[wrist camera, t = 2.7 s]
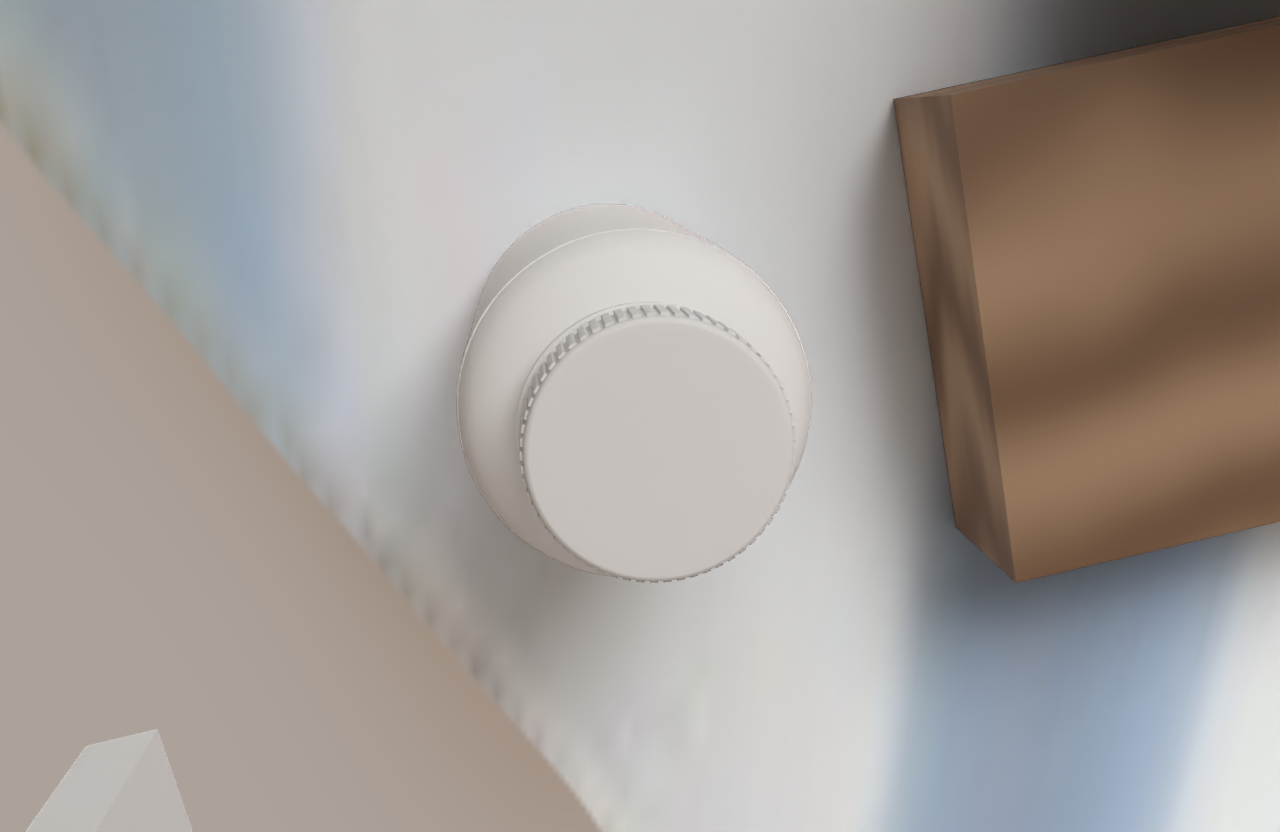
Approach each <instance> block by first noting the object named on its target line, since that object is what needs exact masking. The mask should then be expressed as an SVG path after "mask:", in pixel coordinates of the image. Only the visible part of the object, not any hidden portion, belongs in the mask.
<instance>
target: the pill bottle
mask: <svg viewBox="0 0 1280 832" xmlns="http://www.w3.org/2000/svg"><path fill="white" fill-rule="evenodd" d="M811 401H812V398H811V381H810V373H809V367H808V362H807V358H806V354H805V351H804V348H803V345H802V342H801V339H800V336H799V334H798V332H797V329H796V327H795V325H794V323H793V321H792V319H791V317H790V316H789V314H788V312H787V311H786V309H785V307H784V306H783V304H782V303H781V301H780V300H779V299H778V297H777V296H776V295H775V293H774V292H773V291H772V290H771V289H770V287H769V286H768V285H767V284H766V283H765V282H764V281H763V280H762V279H761V278H760V277H759V276H758V275H757V274H756V273H755V272H754V271H753V270H752V269H751V268H749V267H748V266H747V265H746V264H744V263H743V262H742V261H741V260H739V259H738V258H736V257H735V256H733V255H732V254H730V253H729V252H727V251H726V250H724V249H722V248H720V247H719V246H717V245H715V244H713V243H711V242H710V241H708V240H706V239H704V238H702V237H701V236H699V235H697V234H695V233H693V232H692V231H690V230H688V229H686V228H684V227H683V226H681V225H679V224H677V223H675V222H673V221H672V220H670V219H668V218H666V217H664V216H662V215H659V214H657V213H654V212H652V211H649V210H646V209H642V208H638V207H633V206H628V205H619V204H596V205H588V206H582V207H577V208H573V209H570V210H567V211H564V212H561V213H558V214H556V215H554V216H551V217H549V218H547V219H545V220H544V221H542V222H540V223H538V224H537V225H535V226H534V227H532V228H531V229H529V230H528V231H527V232H525V233H524V234H523V235H522V236H521V237H519V238H518V239H517V240H516V241H515V242H514V243H513V244H512V245H511V246H510V247H509V248H508V250H507V251H506V252H505V253H504V254H503V256H502V257H501V258H500V260H499V261H498V263H497V264H496V266H495V267H494V269H493V271H492V272H491V274H490V276H489V278H488V280H487V282H486V285H485V287H484V290H483V292H482V295H481V298H480V302H479V305H478V308H477V311H476V315H475V318H474V321H473V325H472V328H471V331H470V334H469V338H468V341H467V344H466V347H465V351H464V354H463V358H462V362H461V366H460V371H459V377H458V385H457V423H458V430H459V436H460V441H461V446H462V450H463V453H464V457H465V460H466V463H467V465H468V468H469V470H470V473H471V475H472V477H473V479H474V481H475V483H476V485H477V487H478V489H479V491H480V492H481V494H482V496H483V497H484V499H485V500H486V502H487V503H488V504H489V506H490V507H491V509H492V510H493V511H494V512H495V514H496V515H497V516H498V517H499V518H500V519H501V520H502V522H503V523H504V524H505V525H506V526H507V527H508V528H509V529H511V530H512V531H513V532H514V533H515V534H516V535H517V536H518V537H520V538H521V539H522V540H524V541H525V542H526V543H528V544H529V545H530V546H532V547H533V548H535V549H537V550H538V551H540V552H542V553H543V554H545V555H547V556H549V557H551V558H553V559H554V560H557V561H559V562H561V563H563V564H566V565H568V566H571V567H573V568H576V569H579V570H583V571H586V572H590V573H594V574H599V575H605V576H613V577H623V579H625V580H631V579H634V580H636V581H637V582H645V581H650V582H658V581H663V582H670V581H672V580H676V579H677V580H682V579H685V578H686V577H694V576H698V574H700V573H706V572H708V571H711V569H713V568H715V567H716V568H717V567H719V566H721V565H723V563H724V562H726V561H730V560H731V559H733V558H735V555H737V554H738V553H739V554H740V553H741V552H743V551H744V550H745V549H746V547H747V546H748V545H751V544H752V543H753V542H754V541H755V540H756V539H755V538H756V537H757V536H758V535H761V534H762V533H763V531H764V530H765V529H764V528H765V527H766V525H769V524H770V522H771V521H772V519H773V518H772V517H773V515H774V514H776V513H777V511H778V510H779V508H780V506H779V505H780V503H781V502H783V500H784V498H785V495H786V494H785V492H786V490H787V489H788V488H789V485H790V483H791V481H792V479H793V477H794V475H795V473H796V470H797V468H798V465H799V463H800V460H801V457H802V454H803V451H804V448H805V444H806V440H807V436H808V431H809V425H810V418H811Z"/></svg>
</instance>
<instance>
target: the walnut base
mask: <svg viewBox="0 0 1280 832" xmlns="http://www.w3.org/2000/svg"><path fill="white" fill-rule="evenodd" d="M894 106H895V113H896V120H897V127H898V134H899V141H900V147H901V154H902V161H903V168H904V175H905V182H906V189H907V195H908V202H909V209H910V216H911V223H912V230H913V237H914V243H915V250H916V257H917V264H918V271H919V278H920V285H921V292H922V298H923V305H924V312H925V319H926V326H927V333H928V340H929V346H930V353H931V360H932V367H933V374H934V381H935V388H936V394H937V401H938V408H939V415H940V422H941V429H942V436H943V443H944V449H945V456H946V463H947V470H948V477H949V484H950V491H951V497H952V504H953V511H954V518H955V525H956V528H957V529H958V530H960V531H961V532H962V533H963V534H964V535H965V536H966V537H967V538H968V539H969V540H970V541H971V542H972V543H974V544H975V545H976V546H977V547H978V548H979V549H980V550H981V551H982V552H983V553H984V554H985V555H986V556H988V557H989V558H990V559H991V560H992V561H993V562H994V563H995V564H996V565H997V566H998V567H999V568H1000V569H1002V570H1003V571H1004V572H1005V573H1006V574H1007V575H1008V576H1009V577H1010V578H1011V579H1012V580H1013V581H1015V582H1016V583H1017V582H1022V581H1026V580H1030V579H1035V578H1039V577H1043V576H1047V575H1052V574H1056V573H1060V572H1065V571H1069V570H1073V569H1078V568H1082V567H1086V566H1091V565H1095V564H1099V563H1103V562H1108V561H1112V560H1116V559H1121V558H1125V557H1129V556H1134V555H1138V554H1142V553H1146V552H1151V551H1155V550H1159V549H1164V548H1168V547H1172V546H1177V545H1181V544H1185V543H1189V542H1194V541H1198V540H1202V539H1207V538H1211V537H1215V536H1220V535H1224V534H1228V533H1233V532H1237V531H1241V530H1245V529H1250V528H1254V527H1258V526H1263V525H1267V524H1271V523H1276V522H1280V17H1276V18H1271V19H1266V20H1262V21H1257V22H1252V23H1248V24H1243V25H1238V26H1234V27H1229V28H1224V29H1220V30H1215V31H1210V32H1205V33H1201V34H1196V35H1191V36H1187V37H1182V38H1177V39H1173V40H1168V41H1163V42H1159V43H1154V44H1149V45H1145V46H1140V47H1135V48H1131V49H1126V50H1121V51H1117V52H1112V53H1107V54H1102V55H1098V56H1093V57H1088V58H1084V59H1079V60H1074V61H1070V62H1065V63H1060V64H1056V65H1051V66H1046V67H1042V68H1037V69H1032V70H1028V71H1023V72H1018V73H1013V74H1009V75H1004V76H999V77H995V78H990V79H985V80H981V81H976V82H971V83H967V84H962V85H957V86H953V87H948V88H943V89H939V90H934V91H929V92H925V93H920V94H915V95H910V96H906V97H901V98H896V99H894Z"/></svg>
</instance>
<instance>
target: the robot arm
mask: <svg viewBox="0 0 1280 832" xmlns="http://www.w3.org/2000/svg"><path fill="white" fill-rule="evenodd" d="M25 832H193V830H192V827H191V824H190V821H189V818H188V815H187V812H186V809H185V807H184V804H183V801H182V798H181V795H180V793H179V789H178V786H177V784H176V781H175V778H174V775H173V772H172V769H171V767H170V763H169V761H168V758H167V755H166V752H165V749H164V746H163V743H162V740H161V738H160V735H159V732H158V729H154V730H150V731H146V732H142V733H138V734H133V735H129V736H125V737H120V738H116V739H112V740H108V741H103V742H99V743H95V744H91V745H86V746H85V748H84V749H83V750H82V752H81V754H80V755H79V756H78V757H77V759H76V760H75V762H74V763H73V764H72V766H71V767H70V769H69V770H68V772H67V773H66V774H65V776H64V777H63V779H62V780H61V782H60V783H59V784H58V786H57V787H56V789H55V790H54V791H53V793H52V794H51V796H50V797H49V799H48V800H47V802H46V803H45V804H44V806H43V807H42V809H41V810H40V811H39V813H38V814H37V815H36V817H35V818H34V820H33V821H32V823H31V824H30V825H29V827H28V828H27V830H26V831H25Z"/></svg>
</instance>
